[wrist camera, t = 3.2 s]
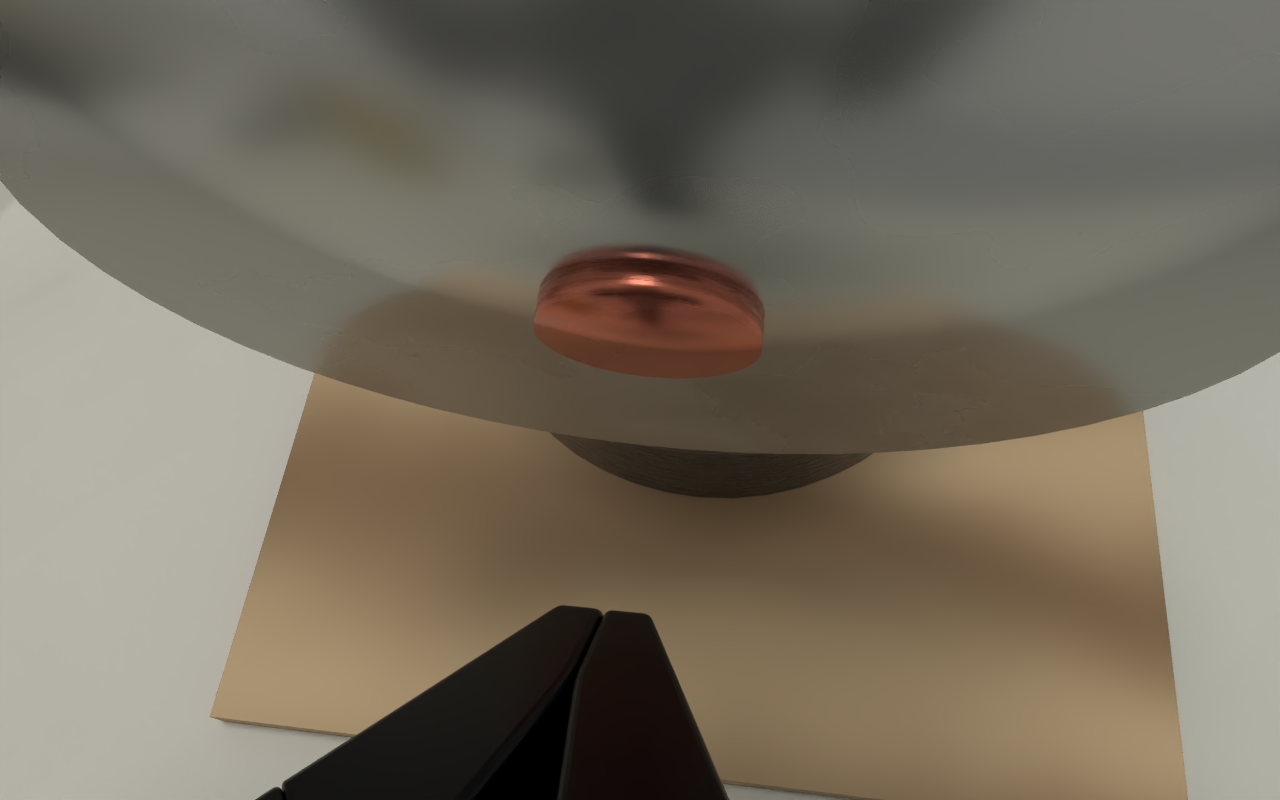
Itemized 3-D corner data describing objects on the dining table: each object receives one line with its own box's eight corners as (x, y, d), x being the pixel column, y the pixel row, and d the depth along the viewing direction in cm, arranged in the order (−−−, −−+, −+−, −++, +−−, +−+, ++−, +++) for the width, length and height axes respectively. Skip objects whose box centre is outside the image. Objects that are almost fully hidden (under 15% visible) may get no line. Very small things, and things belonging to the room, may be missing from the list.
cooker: (1085, 531, 21) (1206, 412, 16) (346, 466, 23) (236, 340, 18) (1051, 114, 27) (1133, -81, 21) (450, 91, 29) (388, -92, 23)
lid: (1073, 409, 16) (1075, 505, 15) (339, 355, 17) (321, 441, 17) (2109, -468, 4) (2248, -147, 3) (-541, -394, 5) (-681, -167, 5)
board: (1179, 839, 19) (1192, 837, 19) (222, 720, 22) (210, 716, 21) (1084, -21, 30) (1091, -37, 29) (448, -35, 32) (443, -50, 32)
